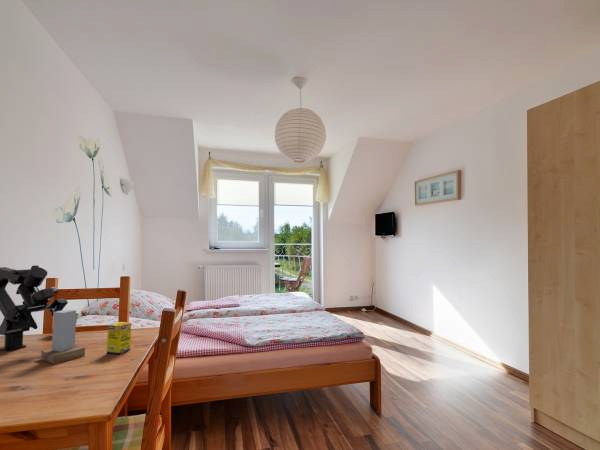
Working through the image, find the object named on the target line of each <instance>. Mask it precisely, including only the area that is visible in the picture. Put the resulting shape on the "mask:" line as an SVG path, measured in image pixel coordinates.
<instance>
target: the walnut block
mask: <svg viewBox="0 0 600 450" xmlns="http://www.w3.org/2000/svg"><path fill="white" fill-rule="evenodd" d="M85 354H86V347H84V346H80V345H77V344H75V348H73V349H69V350H66V351H63V352H59V351H52V347H51V348H48V349H44V350H43V349H42V350H41V352H40V360H41V361H45V362H48V363H51V364H53V365H56V364H60V363H63V362H64V363H65V362H66V361H67V362H68V361H70V360H74V359H78V358H81V357H85V356H86V355H85Z"/></svg>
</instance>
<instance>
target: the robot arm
mask: <svg viewBox="0 0 600 450" xmlns="http://www.w3.org/2000/svg"><path fill="white" fill-rule="evenodd" d="M47 276H48V271H47V269H44V268H43V267H39V265H38V264H37V265H31V268H29V269H13V268H9V267H6V266H4V267H2V266H1V267H0V312H1V314H2V316H3V320H2V323H1V324H0V336H3V337H4V345H3V346H1V347H0V350H3V351H5V352H10V351H14V350H17V349H22V348H25V347H26V348H27V344H24V333H25V332H30V328H32V329H33V330H37V329H38V325H37V322H36V320H35V319H34V317H33V315H32V313H36V312H42V311H49V312H50V314H51V316H52V317H53V312H57V311H62V310H64V308H65V307H66V306H67V304H68V303H69V302H68V300H67V299H66V298H57V299H54V300H53V302H51V303H49V302H50V301H51V298H53V297H56V296H57V295H58V294H59V290H58V288H57V287H56V286H52V287H49V288H43V289H39V287H40V286H42V284H43V282H44V281H45V279H46V278H47ZM9 283H10V284H12V285H14V286H15V285H18V287H17V289H16V293H15V294H16V295H20V296H21V298H22V300H23V301H22V302H21V304H17V305H16V304H15V302H14V301H13V299H12V298H11V296H10V295H9V293H8V292H7V290H6V288H7V285H8V284H9Z"/></svg>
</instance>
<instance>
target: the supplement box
mask: <svg viewBox="0 0 600 450" xmlns="http://www.w3.org/2000/svg"><path fill="white" fill-rule="evenodd" d="M131 331H132V322H130V321H129V322H128V321H127V322H126V321H117V322H114V323H113V324H112V323H111V324H108V325H107V341H106V342H107V345H106V354H109V355H122V354H124V353H126V352H129V351H130V350H131V333H132V332H131Z"/></svg>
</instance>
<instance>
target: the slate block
mask: <svg viewBox="0 0 600 450" xmlns="http://www.w3.org/2000/svg"><path fill="white" fill-rule="evenodd" d="M76 313H77V310H76V309H63V310H62V311H57V312H53V316H52V317H53V318H52V338H51V348H52V351H59V352H63V351H66V350H69V349H73V348H75V345H76V327H77V322H76Z"/></svg>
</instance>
